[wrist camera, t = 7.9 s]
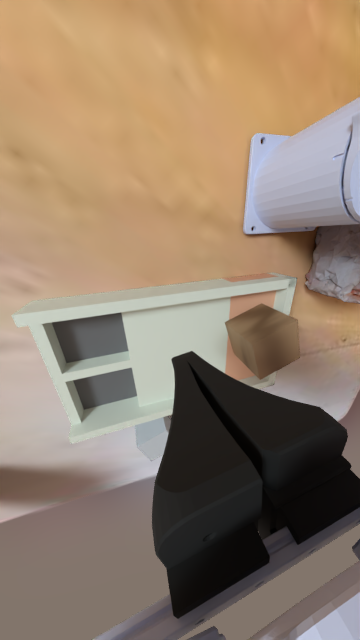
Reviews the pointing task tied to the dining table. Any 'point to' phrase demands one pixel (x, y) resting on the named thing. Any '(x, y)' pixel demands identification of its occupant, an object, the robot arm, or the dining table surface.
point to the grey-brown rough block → (336, 263)
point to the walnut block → (264, 339)
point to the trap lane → (142, 344)
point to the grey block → (153, 437)
